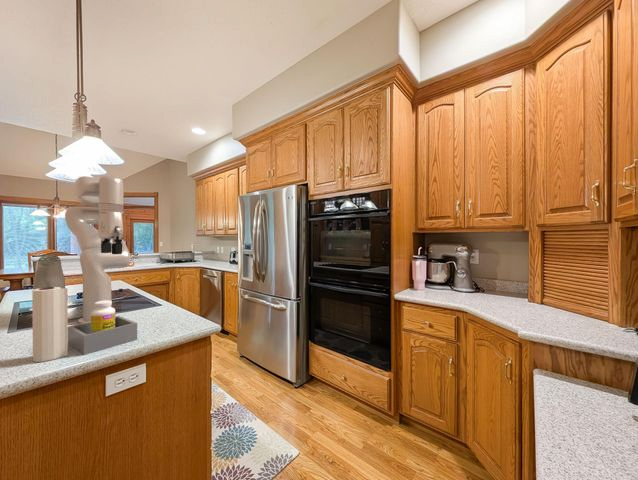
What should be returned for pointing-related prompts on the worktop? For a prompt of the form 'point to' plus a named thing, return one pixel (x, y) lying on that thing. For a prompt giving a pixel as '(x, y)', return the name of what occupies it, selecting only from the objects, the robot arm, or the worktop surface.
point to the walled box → (101, 336)
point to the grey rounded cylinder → (49, 273)
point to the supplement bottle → (102, 316)
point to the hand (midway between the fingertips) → (111, 253)
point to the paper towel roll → (50, 323)
